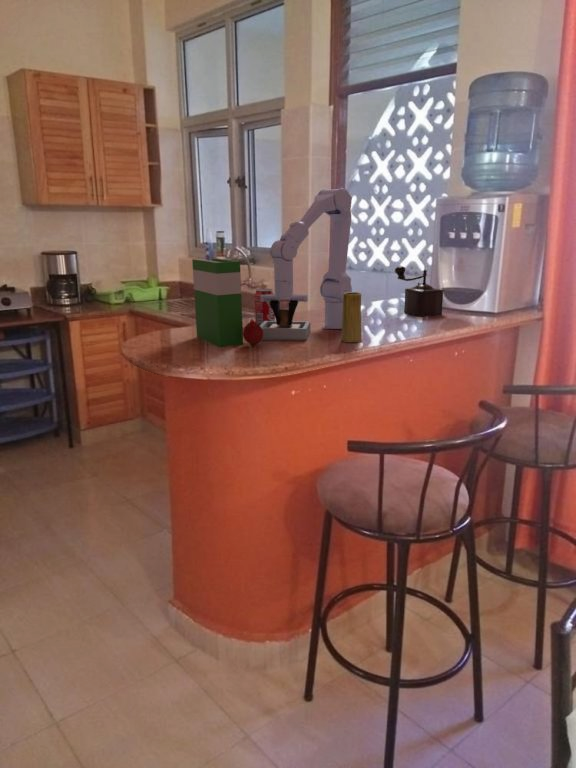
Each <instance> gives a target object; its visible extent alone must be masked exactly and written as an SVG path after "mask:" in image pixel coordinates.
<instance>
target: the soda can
mask: <svg viewBox="0 0 576 768" xmlns="http://www.w3.org/2000/svg"><path fill="white" fill-rule="evenodd" d="M271 294H275V292H273V289H272V288H257V289H255V292H254V296H253V297H254V298H253V299H254V321H255V322H256V323H258V324H260V325H261V324H262V323H263V322H264V321H276V318H275V315H274V312H273V310H272V308H271V306H270V301H264V302H260V296H261V295H271Z"/></svg>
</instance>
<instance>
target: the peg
mask: <svg viewBox="0 0 576 768" xmlns="http://www.w3.org/2000/svg"><path fill="white" fill-rule="evenodd" d="M279 320H280V328H290V325H289V308H280V309H279Z"/></svg>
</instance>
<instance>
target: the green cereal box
mask: <svg viewBox="0 0 576 768" xmlns="http://www.w3.org/2000/svg"><path fill="white" fill-rule="evenodd" d="M191 261H192V262H191V263H192V275H193V277H192V279H193V291H194V293H193V294H194V295H193V296H194V310H195V312H194V313H195V326H196V327H195V328H196V338H198V339H200V338H201V340H202V339H203V341H204V340H205V342H208V343H209V344H211V343H212V344H211V345H214V346H216V347H218V348H225V347H227V348H228V347H232V346H241V345H244V337H243V330H244V327H243V326H244V325H243V308H242V307H243V305H242V304H243V303H242V301H243V300H242V280H241V279H242V277H241V261H240V260H239V261H238V260H232V259H224V258H223V259H222V258H216V257H215V258H211V260H202V259H196V258H195V259H194V258H193V259H191Z"/></svg>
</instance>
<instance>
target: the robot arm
mask: <svg viewBox="0 0 576 768" xmlns="http://www.w3.org/2000/svg"><path fill="white" fill-rule="evenodd" d="M352 198H353V197H352V195H351V194H350V192H349V191H348V190H347V189H346V188H343V187H341V188H337V189H336V188H335V189H321V190H319V192H318V193H317V194H316V195H315V196H314V198H313V202H312V203H311V205H310V207H309V208H308V209H307V210H306V212H305V214H304V215H303V216H302V218H301V219H300V220H299V221H294V222H291V223H290V224H289V228H288V229H287V230H286V231H285V233H284V234H281V236H280V239H279V240H275V241H274V242H273V243H272V245H271V247H270V249H269V256H270V257H271V258H272V264H273V271H274V272H273V273H274V274H273V275H274V276H273V277H274V278H273V279H274V282H273V283H274V294H271V295H261V296H260V302H264V301H270V306H271V308H272V310H273V312H274V315H275V321H276V322H277V325H280V320H279V309H281V302H288V309H289V325H292V321H294V320H293V319H294V315H295V312H296V310H297V308H298V304H299V302H301V303H302V302H304V303H307V302H308V301H309V299H308V298H309V296H308V294H298V293H297V294H296V293H294V259H295V258H296V257H297V253H298V249H299V247H300V245H301V244H302V243H303V241H305V240H306V239H307V237H308V236H309V228H311V227H312V225H314V223H316V221H317V220H318V219H320V217H321V216H322V215H323V214H324V213H325V214H326V215H327V216H328V217H330V218H331V219H332V221H333V229H332V237H331V238H332V239H331V248H330V255H329V256H330V257H329V266H328V267H329V268H328V271H326V273H324V275H323V277H322V281H321V284H320V286H319V293H320V295H321V297H322V299H323V301H324V323H323V326H322V329H325V330H334V329H335V330H336V329H337V330H342V317H343V293H345V292H353V291H352V290H353V289H352V283H351V282H352V278H351V277H350V275H349V274H348V273H347V271H346V270H347V261H348V255H349V254H348V252H349V245H350V244H349V243H350V242H349V241H350V235H351V225H352V211H351V208H352V200H353V199H352Z"/></svg>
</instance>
